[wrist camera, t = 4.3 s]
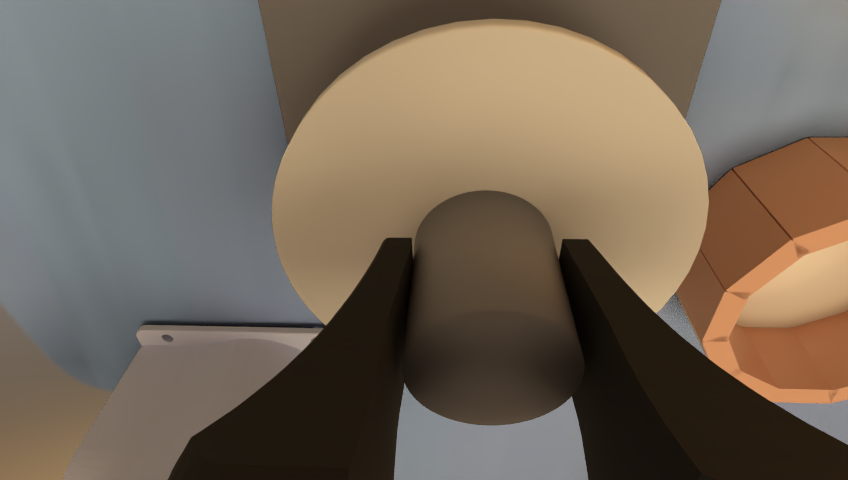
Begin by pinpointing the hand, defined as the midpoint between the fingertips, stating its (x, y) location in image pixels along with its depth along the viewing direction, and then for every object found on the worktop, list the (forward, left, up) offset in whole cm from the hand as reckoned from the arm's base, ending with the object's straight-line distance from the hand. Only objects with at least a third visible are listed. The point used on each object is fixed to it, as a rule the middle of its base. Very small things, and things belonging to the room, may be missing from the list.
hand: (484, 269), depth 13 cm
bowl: (+12, -4, -6) cm, 14 cm away
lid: (0, 0, -2) cm, 2 cm away
